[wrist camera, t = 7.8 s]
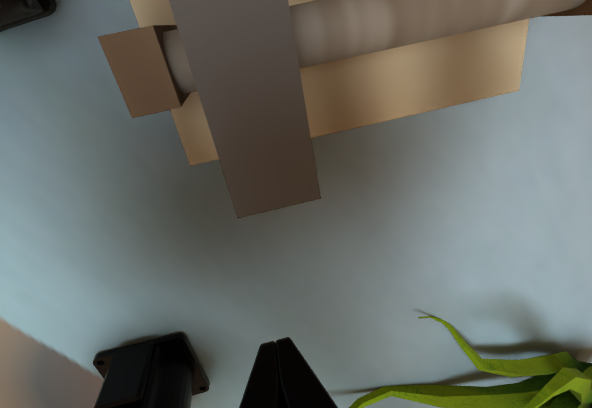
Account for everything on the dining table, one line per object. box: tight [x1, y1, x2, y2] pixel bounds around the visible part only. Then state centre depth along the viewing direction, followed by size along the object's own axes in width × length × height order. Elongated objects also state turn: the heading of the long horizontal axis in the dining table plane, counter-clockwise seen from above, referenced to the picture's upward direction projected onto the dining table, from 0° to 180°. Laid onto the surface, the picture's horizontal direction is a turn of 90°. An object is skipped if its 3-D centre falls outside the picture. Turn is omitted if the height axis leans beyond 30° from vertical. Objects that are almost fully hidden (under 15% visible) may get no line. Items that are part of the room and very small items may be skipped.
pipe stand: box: [98, 0, 592, 166], centre depth 13 cm, size 18×10×6 cm, turn 100°
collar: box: [169, 0, 321, 218], centre depth 12 cm, size 3×10×5 cm, turn 10°
